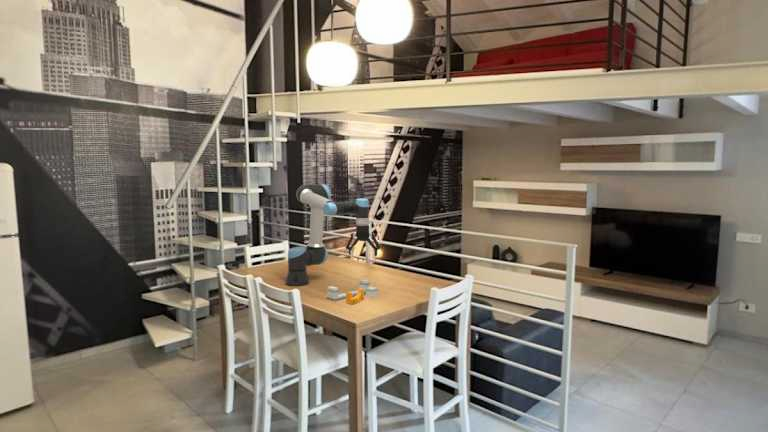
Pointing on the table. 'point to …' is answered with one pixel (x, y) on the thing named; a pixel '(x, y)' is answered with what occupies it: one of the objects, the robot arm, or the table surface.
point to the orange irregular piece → (356, 299)
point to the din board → (343, 295)
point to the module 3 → (372, 292)
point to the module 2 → (364, 284)
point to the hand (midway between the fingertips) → (363, 261)
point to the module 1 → (332, 292)
